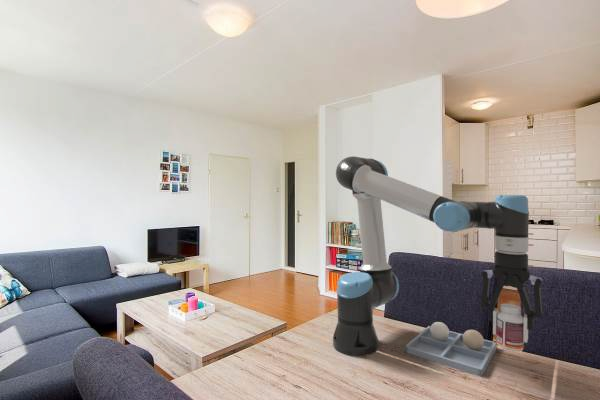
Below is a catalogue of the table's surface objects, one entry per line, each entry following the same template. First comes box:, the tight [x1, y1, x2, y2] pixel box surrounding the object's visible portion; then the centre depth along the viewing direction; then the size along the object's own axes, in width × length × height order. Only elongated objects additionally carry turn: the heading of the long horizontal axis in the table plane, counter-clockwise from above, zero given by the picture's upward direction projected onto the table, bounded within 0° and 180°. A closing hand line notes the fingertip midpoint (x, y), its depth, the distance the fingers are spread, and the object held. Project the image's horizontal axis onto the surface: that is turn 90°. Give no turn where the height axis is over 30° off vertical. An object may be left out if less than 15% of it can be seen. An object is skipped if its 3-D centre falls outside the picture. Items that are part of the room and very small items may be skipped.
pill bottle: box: [496, 303, 525, 352], centre depth 85 cm, size 6×6×11 cm
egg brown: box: [462, 329, 485, 350], centre depth 101 cm, size 6×6×6 cm
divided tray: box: [404, 325, 498, 378], centre depth 100 cm, size 21×21×3 cm
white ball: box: [430, 321, 450, 341], centre depth 107 cm, size 6×6×6 cm
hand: (510, 336), depth 85 cm, fingers closed on pill bottle, 6 cm apart
